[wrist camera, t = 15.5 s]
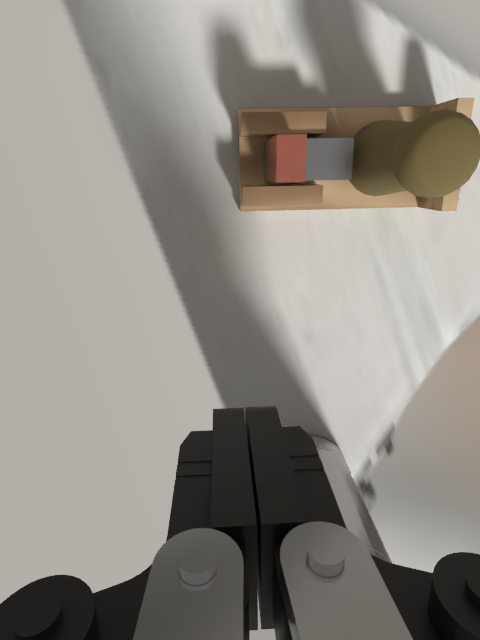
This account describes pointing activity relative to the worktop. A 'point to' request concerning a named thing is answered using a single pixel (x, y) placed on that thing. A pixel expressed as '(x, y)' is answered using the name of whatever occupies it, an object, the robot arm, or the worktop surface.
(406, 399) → the worktop surface
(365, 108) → the light brown wooden holder
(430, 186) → the olive rounded piece
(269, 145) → the red grey l-shaped block
